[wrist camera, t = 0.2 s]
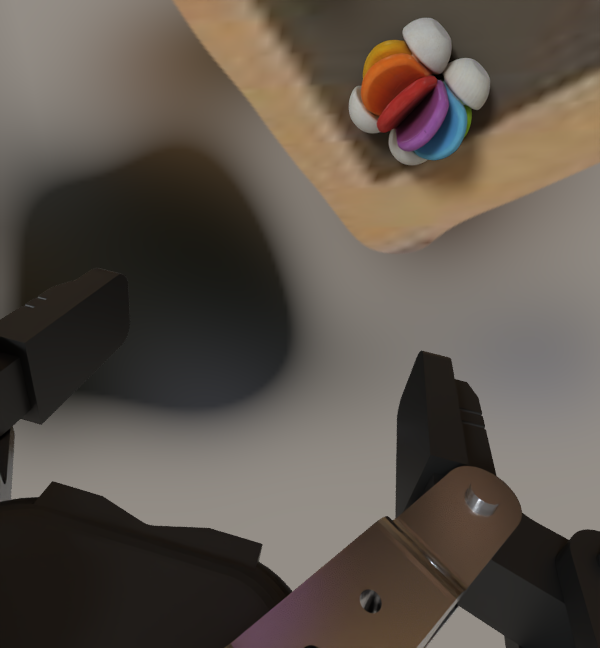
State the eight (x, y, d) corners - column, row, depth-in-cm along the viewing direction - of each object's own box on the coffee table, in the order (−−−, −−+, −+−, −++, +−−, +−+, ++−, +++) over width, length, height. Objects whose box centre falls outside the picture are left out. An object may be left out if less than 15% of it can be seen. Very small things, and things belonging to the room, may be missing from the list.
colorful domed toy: (413, -10, 30) (409, 21, 26) (504, 84, 33) (516, 127, 29) (337, 91, 36) (323, 131, 31) (421, 163, 39) (419, 209, 35)
